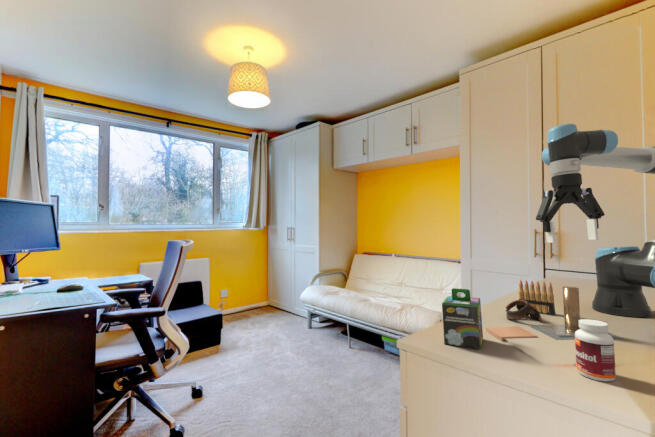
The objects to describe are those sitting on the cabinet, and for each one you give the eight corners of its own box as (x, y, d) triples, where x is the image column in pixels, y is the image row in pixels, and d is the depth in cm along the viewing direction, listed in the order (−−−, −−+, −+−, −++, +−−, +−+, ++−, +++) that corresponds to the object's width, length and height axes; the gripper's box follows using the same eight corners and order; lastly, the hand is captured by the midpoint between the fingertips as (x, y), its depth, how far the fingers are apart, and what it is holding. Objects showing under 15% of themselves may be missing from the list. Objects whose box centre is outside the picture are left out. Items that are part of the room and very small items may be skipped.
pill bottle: (568, 369, 66) (566, 318, 66) (594, 367, 66) (591, 317, 67) (597, 383, 60) (593, 327, 60) (625, 381, 60) (621, 325, 61)
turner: (586, 326, 90) (583, 284, 91) (610, 336, 82) (607, 289, 83) (538, 327, 91) (536, 285, 91) (558, 336, 83) (556, 290, 83)
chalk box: (483, 339, 85) (480, 286, 86) (481, 350, 77) (478, 292, 78) (448, 334, 90) (446, 284, 90) (443, 344, 82) (440, 289, 82)
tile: (518, 326, 91) (485, 327, 91) (537, 335, 83) (501, 336, 83) (518, 332, 91) (486, 333, 91) (537, 341, 83) (501, 343, 83)
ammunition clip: (518, 312, 110) (516, 279, 110) (520, 311, 111) (518, 279, 111) (554, 318, 102) (552, 282, 103) (555, 317, 103) (553, 282, 104)
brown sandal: (548, 330, 92) (534, 307, 92) (517, 339, 97) (503, 317, 97) (540, 310, 103) (527, 290, 103) (511, 319, 107) (499, 299, 107)
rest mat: (587, 327, 92) (586, 324, 92) (624, 341, 80) (624, 338, 80) (527, 328, 93) (527, 325, 93) (556, 342, 81) (556, 339, 81)
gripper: (535, 174, 91) (542, 244, 91) (615, 169, 92) (622, 238, 91) (519, 178, 99) (525, 243, 98) (593, 174, 99) (599, 238, 99)
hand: (572, 241), depth 95 cm, fingers open, 13 cm apart
